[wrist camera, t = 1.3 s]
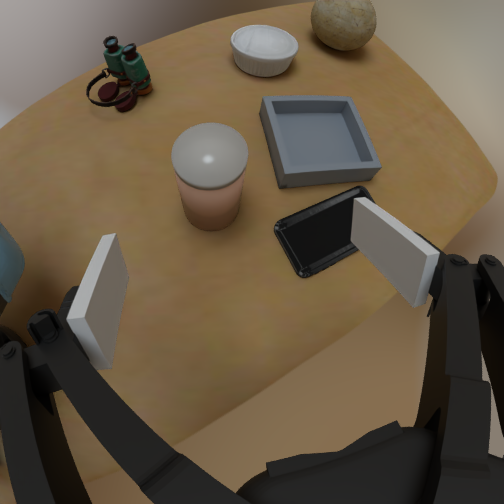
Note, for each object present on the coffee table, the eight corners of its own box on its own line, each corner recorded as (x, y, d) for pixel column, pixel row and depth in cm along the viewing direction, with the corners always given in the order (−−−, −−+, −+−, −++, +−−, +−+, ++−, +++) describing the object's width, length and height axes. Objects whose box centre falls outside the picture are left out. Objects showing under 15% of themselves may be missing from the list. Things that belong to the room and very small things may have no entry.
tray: (279, 188, 40) (285, 173, 36) (259, 114, 43) (262, 96, 39) (369, 180, 42) (381, 167, 38) (342, 112, 45) (350, 96, 41)
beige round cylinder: (187, 235, 37) (174, 191, 25) (181, 184, 39) (169, 128, 27) (243, 226, 38) (254, 180, 26) (234, 177, 40) (241, 119, 28)
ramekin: (220, 50, 47) (221, 28, 42) (275, 42, 49) (280, 21, 44) (243, 87, 44) (246, 63, 39) (303, 76, 47) (310, 55, 42)
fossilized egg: (300, 24, 52) (315, -30, 37) (354, 34, 53) (375, -15, 39) (309, 56, 48) (330, -5, 34) (369, 68, 50) (398, 14, 35)
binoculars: (63, 69, 31) (113, 27, 33) (88, 108, 42) (129, 69, 43) (96, 86, 31) (151, 40, 32) (120, 128, 41) (164, 85, 43)
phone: (271, 223, 38) (363, 183, 41) (270, 226, 39) (360, 186, 42) (302, 280, 36) (391, 231, 39) (299, 282, 37) (388, 234, 40)
